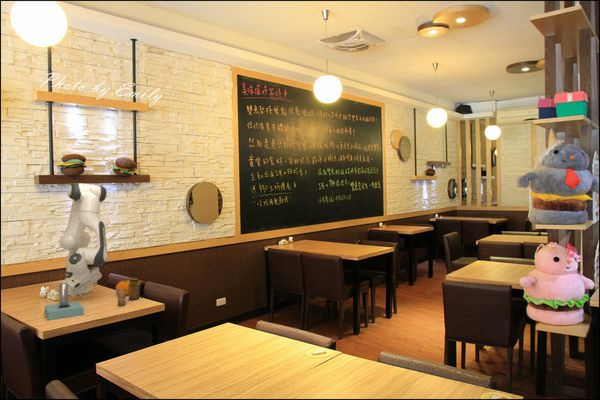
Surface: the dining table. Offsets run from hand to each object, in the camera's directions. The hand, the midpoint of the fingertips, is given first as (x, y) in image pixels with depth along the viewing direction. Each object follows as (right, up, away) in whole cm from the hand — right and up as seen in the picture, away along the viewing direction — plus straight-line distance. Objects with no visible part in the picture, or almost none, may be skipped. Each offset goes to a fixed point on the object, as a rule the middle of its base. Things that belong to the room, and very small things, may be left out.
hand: (88, 290), depth 270 cm
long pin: (+6, -5, -38) cm, 39 cm away
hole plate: (+6, -5, -38) cm, 39 cm away
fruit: (+21, -4, +5) cm, 22 cm away
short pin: (+29, -4, -21) cm, 36 cm away
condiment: (+31, -4, -6) cm, 32 cm away
